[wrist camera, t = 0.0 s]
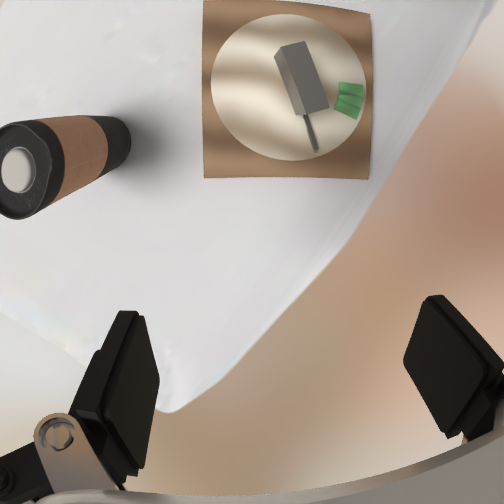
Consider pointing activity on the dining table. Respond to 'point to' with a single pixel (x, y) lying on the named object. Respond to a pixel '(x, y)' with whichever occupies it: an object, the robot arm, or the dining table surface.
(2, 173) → the travel mug
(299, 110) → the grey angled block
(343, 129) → the brown wooden flat block
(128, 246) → the dining table surface
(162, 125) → the dining table surface
